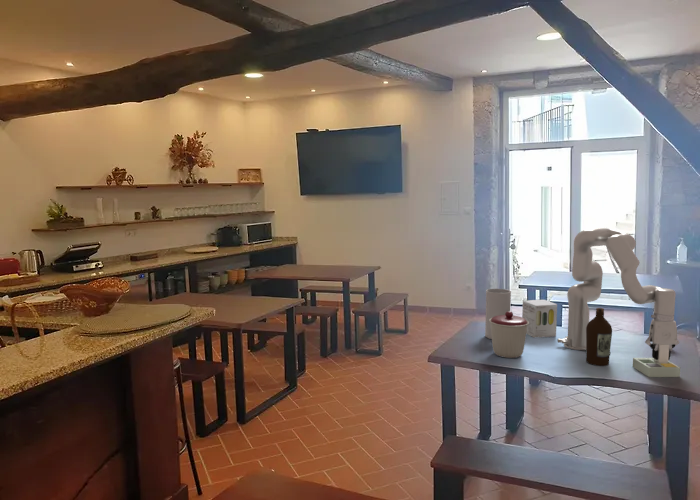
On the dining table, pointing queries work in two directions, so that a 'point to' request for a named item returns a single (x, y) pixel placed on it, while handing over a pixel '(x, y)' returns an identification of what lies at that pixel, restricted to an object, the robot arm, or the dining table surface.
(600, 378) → the dining table surface
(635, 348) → the dining table surface
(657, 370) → the socket block
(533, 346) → the dining table surface
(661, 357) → the plug
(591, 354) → the olive oil
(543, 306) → the supplement box
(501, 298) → the cylinder vase
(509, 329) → the canister
